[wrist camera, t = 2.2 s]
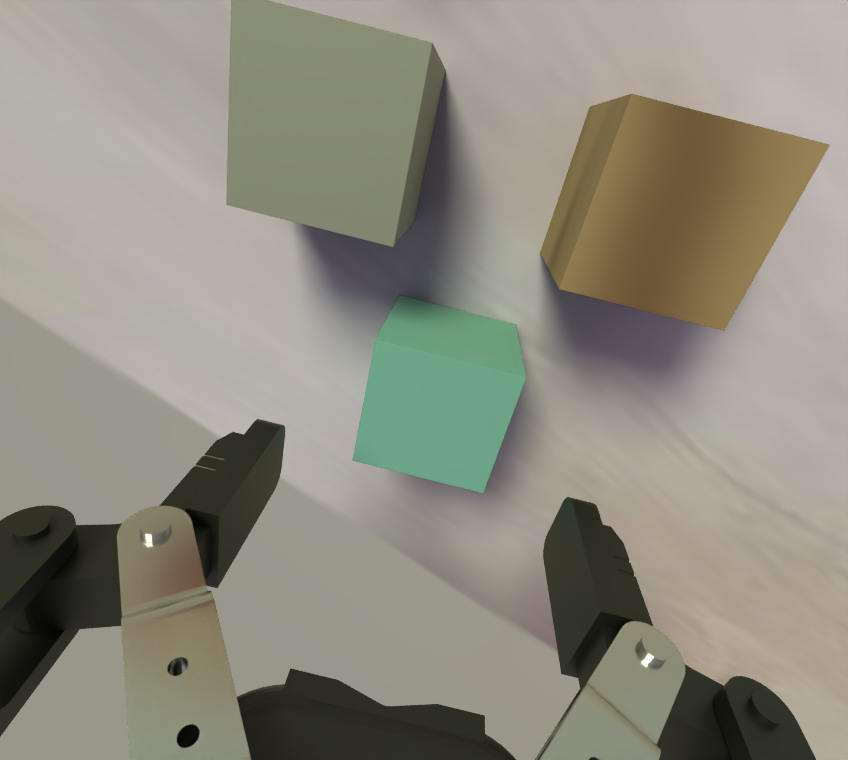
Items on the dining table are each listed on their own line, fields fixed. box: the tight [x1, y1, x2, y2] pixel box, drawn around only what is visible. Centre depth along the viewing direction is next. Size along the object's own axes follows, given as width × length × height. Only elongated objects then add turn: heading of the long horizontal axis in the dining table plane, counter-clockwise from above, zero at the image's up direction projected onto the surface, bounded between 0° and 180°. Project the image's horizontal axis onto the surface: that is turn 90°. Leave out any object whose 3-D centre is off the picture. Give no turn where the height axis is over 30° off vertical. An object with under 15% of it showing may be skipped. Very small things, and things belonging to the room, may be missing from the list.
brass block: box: [540, 94, 829, 331], centre depth 15 cm, size 5×5×5 cm
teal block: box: [353, 295, 526, 493], centre depth 18 cm, size 5×5×5 cm
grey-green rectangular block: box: [226, 0, 445, 247], centre depth 15 cm, size 5×5×5 cm
